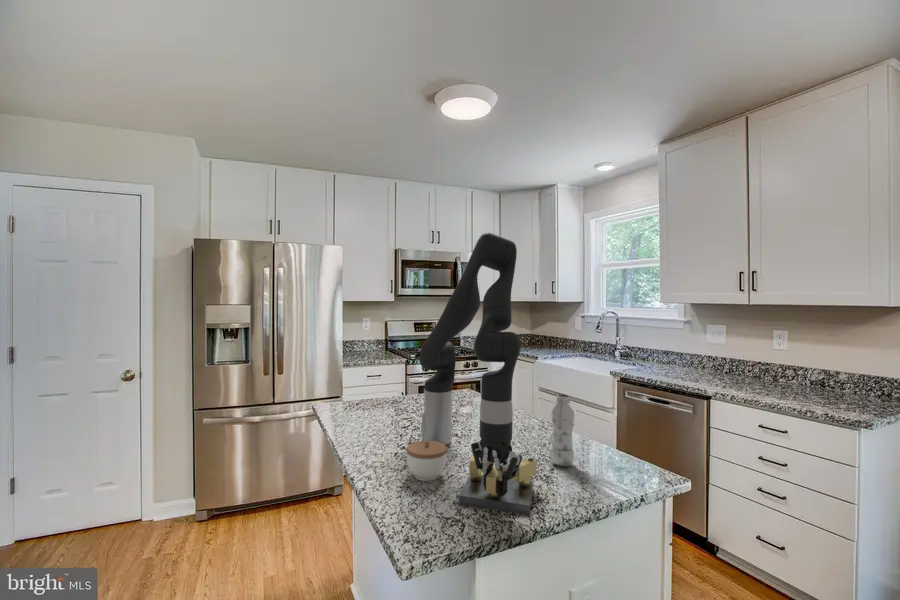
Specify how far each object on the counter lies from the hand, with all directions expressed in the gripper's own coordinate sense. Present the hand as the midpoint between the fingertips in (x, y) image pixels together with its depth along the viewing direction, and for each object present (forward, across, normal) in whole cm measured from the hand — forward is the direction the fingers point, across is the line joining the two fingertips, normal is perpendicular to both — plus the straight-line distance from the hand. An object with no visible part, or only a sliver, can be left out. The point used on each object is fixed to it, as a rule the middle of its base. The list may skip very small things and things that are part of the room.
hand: (494, 491), depth 97 cm
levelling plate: (+3, +2, -4) cm, 5 cm away
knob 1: (+1, +9, -4) cm, 10 cm away
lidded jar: (+3, +22, +1) cm, 23 cm away
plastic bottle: (+3, +2, -33) cm, 33 cm away
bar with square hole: (+1, 0, 0) cm, 1 cm away
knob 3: (+1, -1, -10) cm, 10 cm away
